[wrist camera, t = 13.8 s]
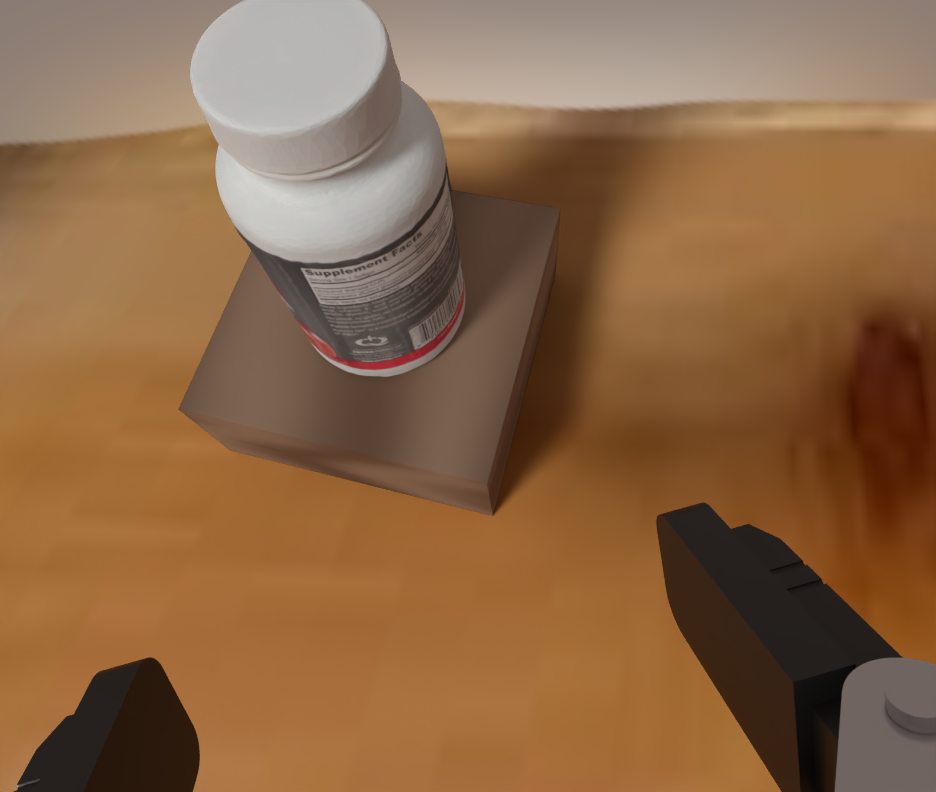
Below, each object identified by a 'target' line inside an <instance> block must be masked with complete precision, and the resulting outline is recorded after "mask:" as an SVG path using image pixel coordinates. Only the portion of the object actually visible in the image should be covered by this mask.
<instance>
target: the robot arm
mask: <svg viewBox="0 0 936 792" xmlns="http://www.w3.org/2000/svg"><path fill="white" fill-rule="evenodd" d="M656 523H657V532H658V539H659V545H660V552H661V558H662V565H663V571H664V578H665V584H666V591H667V596H668V600H669V604H670V607H671V610H672V613H673V616H674V618H675V620H676V623H677V625H678V627H679V629H680V631H681V633H682V634H683V636H684V638H685V639H686V641H687V642H688V644H689V645H690V647H691V649H692V650H693V652H694V653H695V655H696V657H697V658H698V660H699V661H700V663H701V665H702V666H703V668H704V669H705V671H706V672H707V674H708V676H709V677H710V679H711V680H712V682H713V684H714V685H715V687H716V688H717V690H718V691H719V693H720V695H721V696H722V698H723V699H724V701H725V703H726V704H727V706H728V707H729V709H730V710H731V712H732V714H733V715H734V717H735V718H736V720H737V722H738V723H739V725H740V726H741V728H742V730H743V731H744V733H745V734H746V736H747V737H748V739H749V741H750V742H751V744H752V745H753V747H754V749H755V750H756V752H757V753H758V755H759V756H760V758H761V760H762V761H763V763H764V764H765V766H766V768H767V769H768V771H769V772H770V774H771V776H772V777H773V779H774V780H775V782H776V783H777V785H778V787H779V788H780V790H781V791H782V792H936V665H934V664H931V663H928V662H924V661H920V660H916V659H908V658H903V657H902V656H900V655H899V654H898V653H897V652H896V651H895V650H894V649H893V648H892V647H891V646H890V645H889V644H888V643H887V642H886V641H885V640H884V639H883V638H882V637H881V636H880V635H879V634H878V633H877V632H876V631H875V630H874V629H873V628H872V627H871V626H869V625H868V624H867V623H866V622H865V621H864V620H863V619H862V618H861V617H860V616H859V615H858V614H857V613H856V612H855V611H854V610H853V609H852V608H851V607H850V606H849V605H848V604H847V603H846V602H845V601H844V600H843V599H842V598H841V597H840V596H839V595H838V594H837V593H836V592H834V591H833V590H832V589H831V588H830V587H829V586H828V585H827V584H823V582H822V579H821V578H820V577H819V576H818V575H817V574H816V573H815V572H814V571H813V570H812V569H811V568H810V567H809V566H808V565H804V563H803V560H802V559H801V558H799V557H798V556H797V555H796V554H795V553H794V552H793V551H792V550H791V549H790V548H789V547H788V546H787V545H786V544H785V543H784V542H783V541H782V540H781V539H780V538H777V537H775V536H773V535H771V534H769V533H767V532H764V531H762V530H760V529H758V528H756V527H754V526H752V525H749V524H747V525H743V526H740V527H736V528H733V529H730V528H729V527H728V525H727V524H726V523H725V522H724V521H723V520H722V519H721V518H720V517H719V516H718V515H717V514H716V513H715V511H714V510H713V509H712V508H711V507H710V506H709V505H708V504H706V503H699V504H696V505H692V506H689V507H685V508H681V509H678V510H674V511H671V512H667V513H664V514H660V515H658V516H657V521H656ZM199 760H200V751H199V743H198V738H197V734H196V731H195V728H194V726H193V724H192V722H191V720H190V718H189V717H188V715H187V713H186V711H185V709H184V707H183V705H182V703H181V701H180V700H179V698H178V696H177V694H176V692H175V690H174V688H173V686H172V685H171V683H170V681H169V679H168V677H167V675H166V673H165V671H164V669H163V668H162V666H161V664H160V663H159V662H158V661H157V660H156V659H154V658H145V659H142V660H138V661H135V662H131V663H128V664H124V665H121V666H117V667H113V668H110V669H106V670H103V671H100V672H98V673H97V674H96V675H95V676H94V677H93V679H92V681H91V683H90V684H89V686H88V688H87V690H86V692H85V694H84V696H83V698H82V700H81V702H80V704H79V706H78V707H77V709H76V711H75V713H74V715H70V716H67V717H66V718H65V719H64V720H63V721H62V722H61V723H60V724H59V725H58V726H57V728H56V729H55V730H54V731H53V732H52V733H51V734H50V735H49V736H48V738H47V739H46V740H45V741H44V742H43V743H42V744H41V745H40V746H39V747H38V749H37V750H36V751H35V753H34V755H33V757H32V759H31V760H30V762H29V764H28V766H27V768H26V769H25V771H24V773H23V775H22V777H21V778H20V780H19V782H18V784H17V785H18V790H17V791H14V792H193V789H194V785H195V781H196V778H197V774H198V770H199Z"/></svg>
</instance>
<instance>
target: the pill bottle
mask: <svg viewBox="0 0 936 792" xmlns="http://www.w3.org/2000/svg"><path fill="white" fill-rule="evenodd" d="M190 78H191V84H192V90H193V93H194V96H195V98H196V100H197V102H198V104H199V106H200V108H201V110H202V112H203V114H204V116H205V118H206V120H207V122H208V124H209V126H210V128H211V131H212V133H213V135H214V137H215V139H216V140H217V142H218V144H219V147H218V151H217V156H216V180H217V187H218V191H219V194H220V198H221V200H222V202H223V205H224V207H225V209H226V211H227V213H228V215H229V217H230V219H231V221H232V222H233V224H234V226H235V228H236V229H237V231H238V233H239V235H240V236H241V237H242V238H243V239H244V241H245V242H246V243H247V245H248V246H249V247H250V249H251V250H252V252H253V254H254V255H255V257H256V258H257V260H258V261H259V262H260V264H261V265H262V267H263V269H264V270H265V272H266V273H267V275H268V276H269V278H270V280H271V281H272V283H273V285H274V286H275V288H276V289H277V291H278V293H279V295H280V296H281V298H282V299H283V301H284V302H285V304H286V305H287V307H288V309H289V310H290V312H291V313H292V315H293V316H294V318H295V319H296V321H297V323H298V324H299V326H300V328H301V329H302V331H303V332H304V333H305V335H306V336H307V338H308V339H309V341H310V342H311V344H312V345H313V346H314V347H315V349H316V350H317V351H318V352H319V353H320V354H321V355H322V356H323V357H324V358H325V359H326V360H328V361H329V362H330V363H332V364H334V365H335V366H337V367H339V368H341V369H343V370H345V371H347V372H350V373H354V374H357V375H362V376H382V377H388V376H394V375H398V374H402V373H405V372H408V371H410V370H413V369H415V368H417V367H419V366H421V365H423V364H425V363H427V362H428V361H430V360H431V359H433V358H434V357H436V356H437V355H438V354H439V353H440V352H441V351H442V350H443V349H444V348H445V347H446V346H447V344H448V343H449V342H450V341H451V339H452V338H453V337H454V335H455V333H456V331H457V329H458V327H459V325H460V323H461V320H462V317H463V314H464V309H465V281H464V273H463V268H462V262H461V256H460V249H459V244H458V237H457V230H456V224H455V215H454V209H453V201H452V190H451V185H450V180H449V175H448V169H447V163H446V156H445V151H444V146H443V140H442V136H441V132H440V129H439V126H438V123H437V121H436V119H435V117H434V115H433V113H432V111H431V109H430V108H429V107H428V105H427V104H426V102H425V101H424V100H423V99H422V98H421V97H420V96H419V95H418V94H417V93H416V92H415V91H414V90H413V89H412V88H410V87H409V86H408V85H406V84H405V83H404V82H402V81H401V79H400V73H399V70H398V68H397V65H396V63H395V59H394V56H393V52H392V48H391V43H390V40H389V35H388V33H387V30H386V28H385V25H384V23H383V21H382V20H381V18H380V16H379V15H378V14H377V13H376V11H374V9H372V7H371V6H370V5H369V4H367V3H366V2H365V1H363V0H244V1H242V2H240V3H238V4H236V5H235V6H233V7H232V8H230V9H228V10H227V11H226V12H225V13H223V14H222V15H221V16H219V18H217V19H216V20H215V21H214V22H213V23H212V24H211V25H210V26H209V27H208V28H207V29H206V31H205V32H204V34H203V35H202V37H201V38H200V40H199V42H198V44H197V46H196V49H195V51H194V54H193V57H192V61H191V66H190Z"/></svg>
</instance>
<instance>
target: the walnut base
mask: <svg viewBox="0 0 936 792" xmlns="http://www.w3.org/2000/svg"><path fill="white" fill-rule="evenodd" d="M452 201H453V209H454V215H455V224H456V230H457V237H458V244H459V249H460V256H461V262H462V268H463V273H464V281H465V309H464V314H463V317H462V320H461V323H460V325H459V327H458V329H457V331H456V333H455V335H454V337H453V338H452V339H451V341H450V342H449V343H448V344H447V346H446V347H445V348H444V349H443V350H442V351H441V352H440V353H439V354H438V355H437V356H436V357H434V358H433V359H431V360H430V361H428V362H427V363H425V364H423V365H421V366H419V367H417V368H415V369H413V370H410V371H408V372H405V373H402V374H398V375H394V376H388V377H382V376H362V375H357V374H354V373H350V372H347V371H345V370H343V369H341V368H339V367H337V366H335V365H334V364H332V363H330V362H329V361H328V360H326V359H325V358H324V357H323V356H322V355H321V354H320V353H319V352H318V351H317V350H316V349H315V347H314V346H313V345H312V344H311V342H310V341H309V339H308V338H307V336H306V335H305V333H304V332H303V331H302V329H301V328H300V326H299V324H298V323H297V321H296V319H295V318H294V316H293V315H292V313H291V312H290V310H289V309H288V307H287V305H286V304H285V302H284V301H283V299H282V298H281V296H280V295H279V293H278V291H277V289H276V288H275V286H274V285H273V283H272V281H271V280H270V278H269V276H268V275H267V273H266V272H265V270H264V269H263V267H262V265H261V264H260V262H259V261H258V260H257V258H256V257H255V255H254V254H253V252H252V251H251V253H250V255H249V257H248V259H247V262H246V264H245V266H244V268H243V270H242V272H241V275H240V277H239V279H238V281H237V283H236V285H235V288H234V290H233V292H232V294H231V296H230V298H229V301H228V303H227V305H226V307H225V309H224V311H223V314H222V316H221V318H220V320H219V322H218V325H217V327H216V329H215V331H214V333H213V335H212V338H211V340H210V342H209V344H208V346H207V348H206V351H205V353H204V355H203V357H202V359H201V361H200V364H199V366H198V368H197V370H196V372H195V374H194V377H193V379H192V381H191V383H190V385H189V387H188V390H187V392H186V394H185V396H184V398H183V400H182V403H181V405H180V407H179V410H180V411H181V412H182V413H184V414H185V415H186V416H187V417H189V418H190V419H191V420H192V421H194V422H195V423H196V424H197V425H199V426H200V427H201V428H203V429H204V430H205V431H206V432H208V433H209V434H210V435H211V436H213V437H214V438H215V439H216V440H218V441H219V442H220V443H221V444H223V445H224V446H225V447H226V448H228V449H229V450H232V451H236V452H240V453H244V454H248V455H252V456H256V457H260V458H264V459H268V460H272V461H276V462H280V463H284V464H288V465H292V466H296V467H300V468H304V469H308V470H312V471H316V472H320V473H324V474H328V475H332V476H336V477H340V478H344V479H348V480H352V481H356V482H360V483H364V484H368V485H371V486H375V487H379V488H383V489H387V490H391V491H395V492H399V493H403V494H407V495H411V496H415V497H419V498H423V499H427V500H431V501H435V502H439V503H443V504H447V505H451V506H455V507H459V508H463V509H467V510H471V511H475V512H479V513H483V514H487V515H491V516H493V513H494V509H495V505H496V502H497V498H498V494H499V490H500V486H501V482H502V478H503V474H504V471H505V467H506V463H507V459H508V455H509V451H510V447H511V443H512V440H513V436H514V432H515V428H516V424H517V420H518V416H519V412H520V409H521V405H522V401H523V397H524V393H525V389H526V385H527V381H528V378H529V374H530V370H531V366H532V362H533V358H534V354H535V350H536V347H537V343H538V339H539V335H540V331H541V327H542V323H543V319H544V316H545V312H546V308H547V304H548V300H549V296H550V292H551V288H552V285H553V281H554V277H555V271H556V259H557V246H558V233H559V221H560V208H555V207H549V206H543V205H537V204H531V203H525V202H519V201H513V200H507V199H501V198H496V197H490V196H484V195H478V194H472V193H466V192H460V191H454V190H452Z"/></svg>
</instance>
